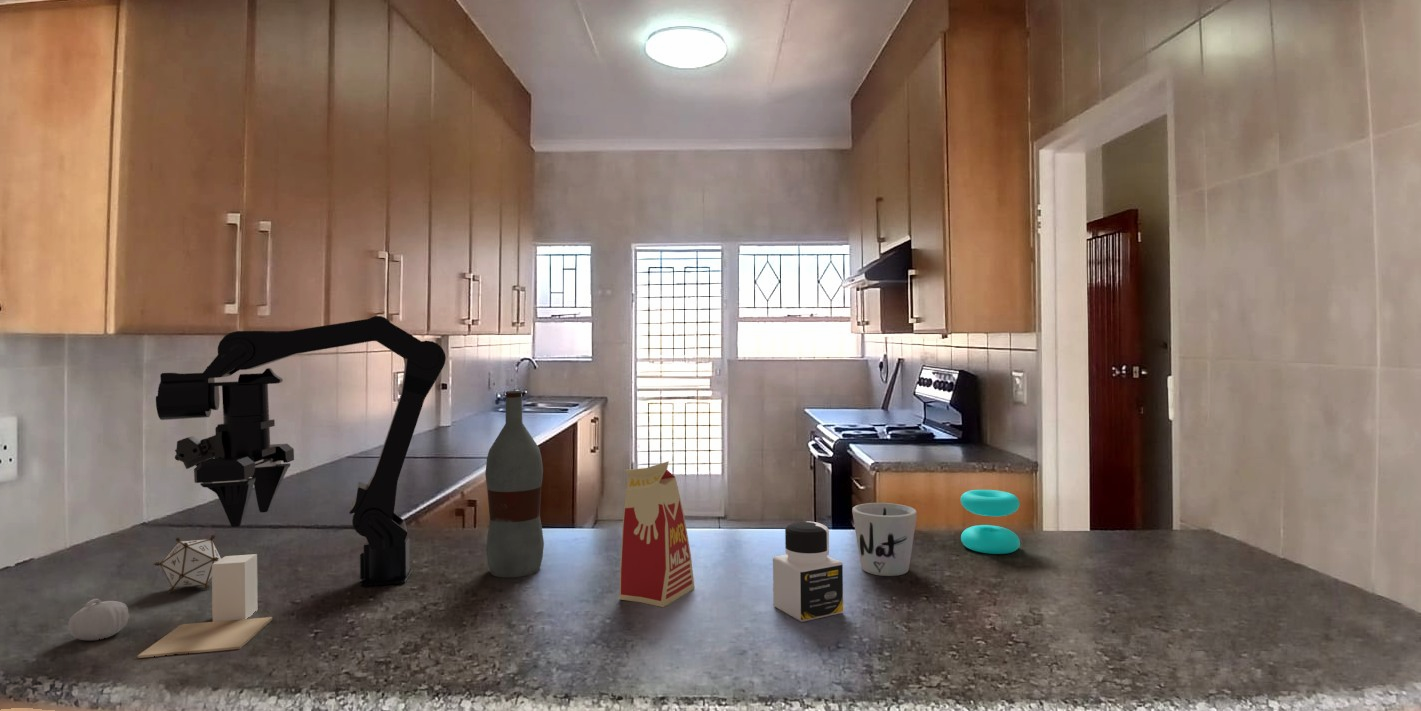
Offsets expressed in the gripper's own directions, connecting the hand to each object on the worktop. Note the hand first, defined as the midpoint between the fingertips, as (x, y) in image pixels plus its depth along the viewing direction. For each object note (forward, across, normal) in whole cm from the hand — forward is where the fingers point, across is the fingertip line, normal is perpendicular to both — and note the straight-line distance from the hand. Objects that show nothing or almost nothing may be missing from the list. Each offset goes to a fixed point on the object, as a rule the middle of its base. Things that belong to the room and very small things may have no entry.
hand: (250, 519), depth 105 cm
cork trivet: (+12, +15, +1) cm, 19 cm away
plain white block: (+12, +8, +1) cm, 14 cm away
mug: (+14, +7, +99) cm, 100 cm away
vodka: (+13, -5, +38) cm, 40 cm away
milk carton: (+13, +12, +59) cm, 62 cm away
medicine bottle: (+14, +23, +79) cm, 84 cm away
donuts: (+15, +1, +122) cm, 123 cm away
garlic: (+12, +12, -13) cm, 21 cm away
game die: (+12, -7, -12) cm, 18 cm away
